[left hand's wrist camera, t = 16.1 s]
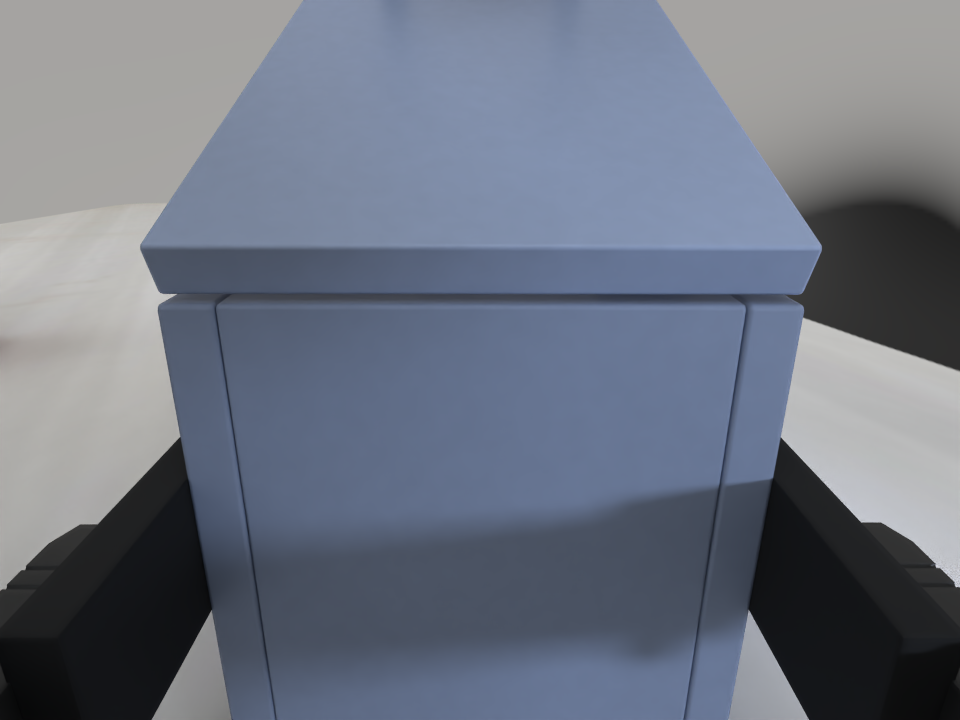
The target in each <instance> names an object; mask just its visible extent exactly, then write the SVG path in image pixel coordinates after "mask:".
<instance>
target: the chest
mask: <svg viewBox="0 0 960 720" xmlns="http://www.w3.org/2000/svg"><path fill="white" fill-rule="evenodd" d="M803 313H804V309H803V306H802V305H801V304H799V303H797V302H795V301H794V300H792V299H790V298H788V297H787V296H785V295H745V294H177V295H175V296H173V297H172V298H170V299H168V300H166V301H165V302H163V303H161V304H160V305H159V306H158V315H159V320H160V326H161V331H162V337H163V342H164V348H165V353H166V359H167V365H168V370H169V376H170V381H171V387H172V392H173V398H174V403H175V409H176V414H177V420H178V425H179V431H180V436H181V442H182V448H183V453H184V459H185V464H186V470H187V475H188V481H189V486H190V492H191V497H192V503H193V508H194V514H195V519H196V525H197V531H198V536H199V542H200V547H201V553H202V558H203V564H204V569H205V575H206V580H207V586H208V591H209V597H210V602H211V608H212V614H213V619H214V625H215V630H216V636H217V641H218V647H219V652H220V658H221V663H222V669H223V674H224V680H225V685H226V691H227V697H228V702H229V708H230V713H231V719H232V720H728V718H729V712H730V707H731V702H732V696H733V691H734V685H735V680H736V675H737V669H738V664H739V658H740V653H741V648H742V642H743V637H744V632H745V626H746V621H747V615H748V610H749V605H750V599H751V594H752V588H753V583H754V578H755V572H756V567H757V561H758V556H759V551H760V545H761V540H762V534H763V529H764V524H765V518H766V513H767V508H768V502H769V497H770V491H771V486H772V481H773V475H774V470H775V464H776V459H777V454H778V448H779V443H780V437H781V432H782V427H783V421H784V416H785V411H786V405H787V400H788V394H789V389H790V384H791V378H792V373H793V367H794V362H795V357H796V351H797V346H798V340H799V335H800V330H801V324H802V319H803Z"/></svg>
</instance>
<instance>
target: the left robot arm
mask: <svg viewBox="0 0 960 720" xmlns="http://www.w3.org/2000/svg"><path fill="white" fill-rule="evenodd" d="M954 583H955V582H954V581H952V580H951V579H950V578H949V577H948V576H947V575H946V574H945V573H944V572H943V571H942V570H941V569H940V568H936V566H935V563H934V562H933V561H932V560H931V559H930V558H929V557H928V556H927V555H926V554H925V553H924V552H923V551H922V550H921V549H920V548H919V547H918V546H917V545H916V544H915V543H914V542H913V541H911V540H909V539H908V538H906V537H904V536H903V535H901V534H899V533H897V532H896V531H894V530H892V529H891V528H889V527H887V526H886V525H884V524H882V523H861V522H860V521H859V520H858V519H857V518H856V517H855V516H854V515H853V513H852V512H851V511H850V510H849V509H848V508H847V507H846V506H845V505H844V504H843V503H842V502H841V501H840V500H839V499H838V498H837V496H836V495H835V494H834V493H833V492H832V491H831V490H830V489H829V488H828V487H827V486H826V485H825V484H824V483H823V482H822V481H821V480H820V478H819V477H818V476H817V475H816V474H815V473H814V472H813V471H812V470H811V469H810V468H809V467H808V466H807V465H806V464H805V463H804V462H803V460H802V459H801V458H800V457H799V456H798V455H797V454H796V453H795V452H794V451H793V450H792V449H791V448H790V447H789V446H788V445H787V443H786V442H785V441H784V440H783V439H782V438H781V437H780V443H779V448H778V454H777V459H776V464H775V470H774V475H773V481H772V486H771V491H770V497H769V502H768V508H767V513H766V518H765V524H764V529H763V534H762V540H761V545H760V551H759V556H758V561H757V567H756V572H755V578H754V583H753V588H752V594H751V599H750V605H749V611H750V612H751V614H752V616H753V618H754V620H755V622H756V623H757V625H758V627H759V629H760V631H761V633H762V634H763V636H764V638H765V640H766V642H767V644H768V645H769V647H770V649H771V651H772V653H773V655H774V656H775V658H776V660H777V662H778V664H779V666H780V667H781V669H782V671H783V673H784V675H785V676H786V678H787V680H788V682H789V684H790V686H791V687H792V689H793V691H794V693H795V695H796V697H797V698H798V700H799V702H800V704H801V706H802V708H803V709H804V711H805V713H806V715H807V717H808V719H809V720H960V587H955V585H954ZM211 610H212V608H211V602H210V597H209V591H208V586H207V580H206V575H205V569H204V564H203V558H202V553H201V547H200V542H199V536H198V531H197V525H196V519H195V514H194V508H193V503H192V497H191V492H190V486H189V481H188V475H187V470H186V464H185V459H184V453H183V448H182V442H181V437H180V438H179V439H178V440H177V441H176V442H175V443H174V444H173V445H172V446H171V447H170V448H169V450H168V451H167V452H166V453H165V454H164V455H163V456H162V457H161V458H160V459H159V460H158V461H157V462H156V463H155V464H154V465H153V466H152V468H151V469H150V470H149V471H148V472H147V473H146V474H145V475H144V476H143V477H142V478H141V479H140V480H139V481H138V482H137V483H136V485H135V486H134V487H133V488H132V489H131V490H130V491H129V492H128V493H127V494H126V495H125V496H124V497H123V498H122V499H121V500H120V501H119V503H118V504H117V505H116V506H115V507H114V508H113V509H112V510H111V511H110V512H109V513H108V514H107V515H106V516H105V517H104V518H103V520H102V521H101V522H100V523H99V524H98V525H79V526H77V527H76V528H74V529H72V530H71V531H69V532H67V533H66V534H64V535H62V536H61V537H59V538H57V539H56V540H54V541H52V542H51V543H49V544H48V545H47V546H46V547H45V548H44V549H43V550H42V551H41V552H40V553H39V554H38V555H37V556H36V557H35V558H34V559H33V560H32V561H31V562H30V563H29V564H28V565H27V566H26V570H21V571H20V572H19V573H18V574H17V575H16V576H15V577H14V578H13V579H12V580H11V581H10V582H9V583H8V584H7V589H2V590H1V591H0V720H152V718H153V716H154V714H155V712H156V711H157V709H158V707H159V705H160V703H161V701H162V700H163V698H164V696H165V694H166V692H167V690H168V689H169V687H170V685H171V683H172V681H173V680H174V678H175V676H176V674H177V672H178V670H179V669H180V667H181V665H182V663H183V661H184V659H185V658H186V656H187V654H188V652H189V650H190V648H191V647H192V645H193V643H194V641H195V639H196V637H197V636H198V634H199V632H200V630H201V628H202V626H203V625H204V623H205V621H206V619H207V617H208V615H209V614H210V612H211Z"/></svg>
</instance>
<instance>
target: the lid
mask: <svg viewBox="0 0 960 720" xmlns="http://www.w3.org/2000/svg"><path fill="white" fill-rule="evenodd" d="M140 249H141V252H142V254H143V257H144V259H145V261H146V263H147V266H148V268H149V270H150V273H151V275H152V277H153V279H154V282H155V284H156V286H157V288H158V291H159V292H160V293H163V294H745V295H799V294H801V293H802V292H803V291H804V289H805V286H806V284H807V282H808V280H809V278H810V275H811V273H812V271H813V268H814V266H815V264H816V262H817V260H818V257H819V255H820V253H821V250H822V246H821V244H820V243H819V241H818V240H817V238H816V237H815V235H814V234H813V232H812V231H811V229H810V228H809V226H808V225H807V223H806V222H805V220H804V219H803V217H802V216H801V214H800V213H799V211H798V210H797V209H796V207H795V206H794V204H793V203H792V201H791V200H790V198H789V197H788V195H787V194H786V192H785V191H784V189H783V188H782V186H781V185H780V183H779V182H778V180H777V179H776V177H775V176H774V174H773V173H772V171H771V170H770V168H769V167H768V165H767V164H766V162H765V161H764V160H763V158H762V157H761V155H760V154H759V152H758V151H757V149H756V148H755V146H754V145H753V143H752V142H751V140H750V139H749V137H748V136H747V134H746V133H745V131H744V130H743V128H742V127H741V125H740V124H739V122H738V121H737V119H736V118H735V116H734V115H733V114H732V112H731V111H730V109H729V108H728V106H727V105H726V103H725V102H724V100H723V99H722V97H721V96H720V94H719V93H718V91H717V90H716V88H715V87H714V85H713V84H712V82H711V81H710V79H709V78H708V76H707V75H706V73H705V72H704V70H703V69H702V67H701V66H700V64H699V63H698V61H697V60H696V58H695V57H694V56H693V54H692V53H691V51H690V50H689V48H688V47H687V45H686V44H685V42H684V41H683V39H682V38H681V36H680V35H679V33H678V32H677V30H676V29H675V27H674V26H673V24H672V23H671V21H670V20H669V18H668V17H667V15H666V14H665V12H664V11H663V10H662V8H661V7H660V5H659V4H658V2H657V1H656V0H303V2H302V3H301V5H300V6H299V8H298V9H297V11H296V12H295V14H294V15H293V17H292V18H291V20H290V21H289V23H288V24H287V26H286V27H285V29H284V30H283V32H282V33H281V35H280V36H279V38H278V39H277V41H276V42H275V44H274V45H273V47H272V48H271V50H270V51H269V53H268V54H267V56H266V57H265V59H264V60H263V62H262V63H261V65H260V66H259V68H258V69H257V71H256V72H255V74H254V75H253V77H252V78H251V80H250V81H249V83H248V84H247V86H246V87H245V89H244V90H243V92H242V93H241V95H240V96H239V98H238V99H237V101H236V102H235V104H234V105H233V107H232V108H231V110H230V111H229V113H228V114H227V116H226V117H225V119H224V120H223V122H222V123H221V125H220V126H219V128H218V129H217V131H216V132H215V134H214V135H213V137H212V138H211V140H210V141H209V143H208V144H207V146H206V147H205V149H204V150H203V152H202V153H201V155H200V156H199V158H198V159H197V161H196V162H195V164H194V165H193V167H192V168H191V170H190V171H189V173H188V174H187V176H186V177H185V179H184V180H183V182H182V183H181V185H180V186H179V188H178V189H177V191H176V192H175V194H174V195H173V197H172V198H171V200H170V201H169V203H168V204H167V206H166V207H165V209H164V210H163V212H162V213H161V215H160V216H159V218H158V219H157V221H156V222H155V224H154V225H153V227H152V228H151V230H150V231H149V233H148V234H147V236H146V237H145V239H144V240H143V242H142V243H141V246H140Z"/></svg>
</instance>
